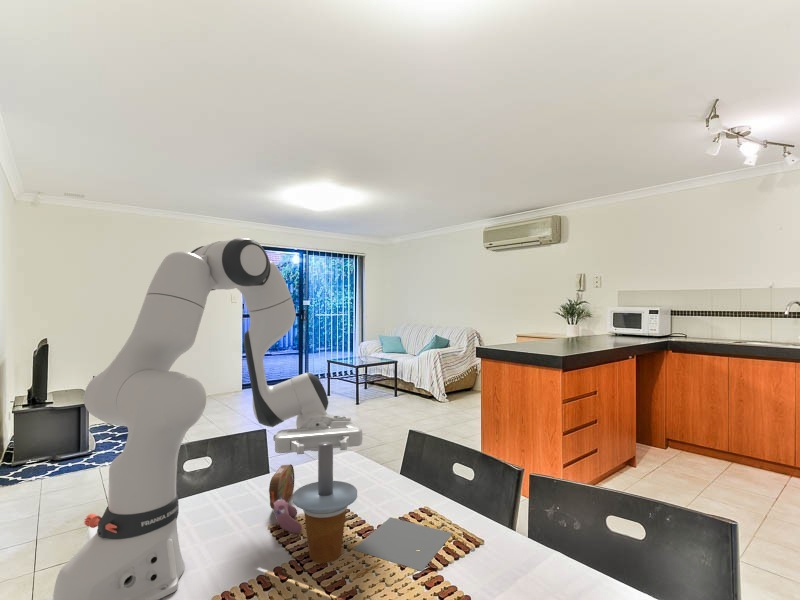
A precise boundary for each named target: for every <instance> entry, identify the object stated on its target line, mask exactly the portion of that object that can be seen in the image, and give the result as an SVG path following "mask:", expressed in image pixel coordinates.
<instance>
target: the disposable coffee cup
mask: <svg viewBox="0 0 800 600" xmlns="http://www.w3.org/2000/svg"><path fill="white" fill-rule="evenodd" d="M347 509H348V506H346V507H344V508H341V509H337V510H332V511H322V512H317V511H308V510H304V509H302V511H303V513H304V519H305V520H304V521H305V529H306V539H307V544H308V546H307V547H308V554H309V555H308V556H309V559H310V560H311V561H312V562H314V563H319V564H327V563H331V562H334V561H336V560H338V559H339V558H340V556H341V554H342V547H343V538H344V532H345V523H346V514H347Z"/></svg>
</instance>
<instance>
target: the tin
mask: <svg viewBox="0 0 800 600" xmlns="http://www.w3.org/2000/svg"><path fill="white" fill-rule="evenodd" d="M268 487H269V488H268V494H269V506H270V508H271V509H272V510H273V509H274V504H273V503H274V502H276V501H277V500H281V498H282V499H283V500H285V501H286V502H287V503H288V502H289V500H290V499H291V498H292V497H293V494H294V489H295V470H294V466H293V464H283V465H281V466H280V467H279V468H278V469H277V470H276V471H275V473H274V474H273V475H272V477H271V479H270V482H269V486H268Z"/></svg>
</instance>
